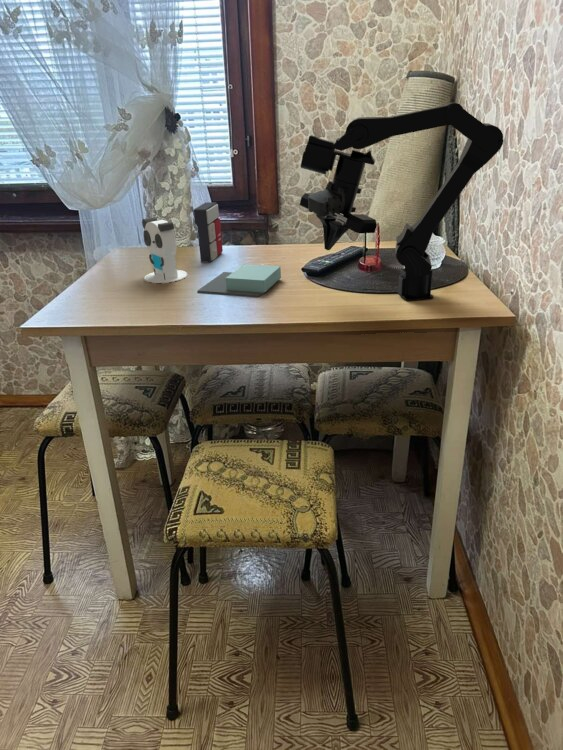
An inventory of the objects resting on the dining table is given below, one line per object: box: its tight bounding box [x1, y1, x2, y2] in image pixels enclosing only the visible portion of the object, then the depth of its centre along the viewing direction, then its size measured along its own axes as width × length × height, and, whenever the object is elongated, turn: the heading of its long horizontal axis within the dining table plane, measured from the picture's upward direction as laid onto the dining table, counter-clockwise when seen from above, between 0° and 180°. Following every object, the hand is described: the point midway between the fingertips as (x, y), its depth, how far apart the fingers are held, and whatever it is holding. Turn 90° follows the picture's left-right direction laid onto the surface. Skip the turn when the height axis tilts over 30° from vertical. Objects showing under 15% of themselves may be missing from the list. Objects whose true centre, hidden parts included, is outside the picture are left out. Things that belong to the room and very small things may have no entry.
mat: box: [197, 271, 264, 298], centre depth 144 cm, size 16×16×1 cm
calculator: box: [193, 201, 223, 263], centre depth 165 cm, size 11×4×15 cm, turn 168°
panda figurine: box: [141, 216, 188, 284], centre depth 149 cm, size 12×11×15 cm
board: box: [226, 263, 282, 294], centre depth 142 cm, size 3×12×10 cm
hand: (327, 249), depth 129 cm, fingers closed
